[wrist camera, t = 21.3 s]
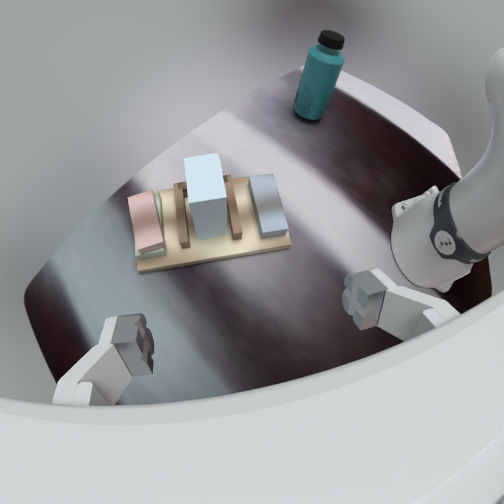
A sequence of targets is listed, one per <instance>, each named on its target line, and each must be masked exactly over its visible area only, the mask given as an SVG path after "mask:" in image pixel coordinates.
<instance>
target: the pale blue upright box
mask: <svg viewBox="0 0 504 504" xmlns="http://www.w3.org/2000/svg"><path fill="white" fill-rule="evenodd" d="M184 163H185V174H186V183H187V192H188V201H189V206H190V210H191V214H192V218H193V222H194V226H195V230H196V234H197V237H198V240H202V239H208V238H214V237H221V236H226V224H227V195H226V190H225V185H224V179H223V174H222V169H221V163H220V158H219V153H214V154H207V155H201V156H194V157H188V158H184Z"/></svg>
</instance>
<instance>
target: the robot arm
mask: <svg viewBox="0 0 504 504" xmlns="http://www.w3.org/2000/svg"><path fill="white" fill-rule="evenodd" d="M485 90H486V96H487V99H488V103H489V107H490V113H491V133H490V140H489V143H488V146H487V149H486V151H485V153H484V155H483V156H482V158H481V159H480V161H479V162H478V163H477V164H476V165H475V166H474V167H473V169H472V170H471V171H470V172H469V173H468V174H467V175H466V176H465V177H463V178H462V179H461V180H460V181H459V182H455V183H453V184H451V185H449V186H447V187H446V188H444V189H443V190H442V191H441V192H439V190H438V188H437V187H436V186H434V187H432V188H430V189H429V190H428V191H426V192H425V193H423V195H421V196H418V197H415V198H412V199H408V200H405V201H402V202H399V203H396V204H395V205H393V206H392V216H393V228H392V233H391V244H392V250H393V254H394V257H395V260H396V262H397V264H398V266H399V268H400V270H401V271H402V272H403V274H404V275H405V276H406V277H407V278H408V279H409V280H410V281H411V282H412V283H414V284H416V285H418V286H420V287H424V288H435V289H437V290H439V291H440V292H443V293H444V292H447V291H448V290H449V289H450V287H451V285H452V283H453V281H454V280H457V279H459V278H461V277H463V276H465V275H467V274H468V273H469V272H470V269H471V268H472V265H473V263H474V262H478V261H480V260H482V259H484V258H485V257H486V256H488V255H489V254H490V253H491V251H493V250H495V249H497V248H499V247H501V246H503V245H504V47H503V48H501V49H499V50H498V51H496V52H495V53H494V54H493V55H492V57H491V58H490V60H489V62H488V64H487V67H486V72H485ZM344 285H345V286H346V289H345V290H344V292H343V296H342V301H343V306H344V308H345V310H346V312H347V313H348V314H350V315H352V316H354V317H353V321H354V323H355V324H356V325H357V327H358V328H359V329H360V330H363V329H367V328H370V327H373V326H378V327H380V328H381V329H383V330H385V331H387V332H389V333H391V334H392V335H394V336H396V337H398V338H400V339H401V340H403V341H405V342H403V343H401V344H398V345H396V346H394V347H391V348H389V349H386V350H384V351H381V352H379V353H376V354H373V355H371V356H368V357H365V358H363V359H360V360H357V361H354V362H351V363H348V364H345V365H342V366H339V367H336V368H333V369H330V370H327V371H323V372H320V373H317V374H313V375H310V376H306V377H303V378H299V379H295V380H292V381H288V382H284V383H280V384H276V385H271V386H267V387H262V388H258V389H253V390H248V391H243V392H238V393H233V394H227V395H221V396H215V397H209V398H202V399H194V400H186V401H177V402H168V403H156V404H141V405H117V406H114V405H115V404H116V402H117V400H118V399H119V397H120V396H121V394H122V393H123V391H124V390H125V388H126V387H127V386H128V384H129V383H130V381H131V380H132V378H133V376H142V375H150V374H153V359H152V357H151V356H152V354H153V353H154V341H153V337H152V334H151V331H150V330H149V329H148V328H147V327H146V322H147V321H146V319H145V317H144V315H143V314H142V313H140V314H131V315H122V316H114V317H108V318H106V320H105V323H104V326H103V330H102V333H101V336H100V340H99V343H98V345H97V346H94V347H93V348H92V349H91V350H90V351H89V352H88V353H87V354H86V355H84V356H83V357H82V358H81V359H80V360H79V361H78V362H77V363H76V364H75V365H74V366H73V367H72V368H71V369H70V370H69V371H68V372H67V373H66V374H65V375H64V376H63V377H62V378H61V379H60V380H59V381H58V384H57V387H56V391H55V394H54V398H53V401H52V404H49V403H38V402H30V401H22V400H15V399H9V398H3V397H0V504H504V289H503V290H501V291H499V292H498V293H497V294H495V295H493V296H492V297H490V298H489V299H487V300H485V301H484V302H482V303H480V304H479V305H477V306H475V307H473V308H472V309H470V310H468V311H466V312H464V313H463V314H460V313H459V312H457V311H456V310H455V309H454V308H453V307H452V306H451V305H450V304H449V303H448V302H447V301H445V300H443V299H440V298H437V297H434V296H431V295H428V294H425V293H422V292H419V291H416V290H413V289H410V288H407V287H404V286H397V285H396V284H395V283H394V282H393V281H392V280H391V279H390V278H389V277H388V276H387V275H386V274H384V273H383V272H382V271H381V270H380V269H379V268H372V269H369V270H366V271H363V272H359V273H354V274H350V275H346V277H345V279H344Z"/></svg>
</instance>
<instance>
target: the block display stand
mask: <svg viewBox="0 0 504 504" xmlns="http://www.w3.org/2000/svg"><path fill="white" fill-rule="evenodd" d="M223 179H224V185H225V190H226V195H227V224H226V236H221V237H214V238H208V239H202V240H198V237H197V234H196V230H195V226H194V222H193V218H192V214H191V210H190V206H189V201H188V192H187V183H186V182H180V183H175V184H174V188H172V189H167V190H162V191H156V192H152V190H149V191H146V192H143V193H140V194H137V195H134V196H131V197H128V202H129V208H130V214H131V220H132V225H133V231H134V237H135V253H136V259H137V271H138V272H140V273H145V272H151V271H157V270H163V269H169V268H175V267H181V266H187V265H192V264H198V263H204V262H210V261H216V260H222V259H228V258H234V257H239V256H245V255H251V254H257V253H263V252H269V251H274V250H280V249H286V248H290V246H291V241H290V237H289V233H288V229H289V228H288V225H287V221H286V217H285V214H284V210H283V206H282V203H281V199H280V196H279V192H278V189H277V185H276V182H275V178H274V175H273V174H265V175H256V176H249V177H244V178H236V179H232V178H231V175H225V176H223Z"/></svg>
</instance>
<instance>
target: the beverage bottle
mask: <svg viewBox="0 0 504 504" xmlns="http://www.w3.org/2000/svg"><path fill="white" fill-rule="evenodd" d="M344 40H345V39H344V37H343V36H342V35H340V34H339V33H336V32H334V31H330V30H323V31H322V32H321V34H320V36H319V38H318V42H319V43H320V44H318V45H315V46H312V47H311V48H309V51H308V56H307V60H306V63H305V67H303V68H304V70H303V73H302V77H301V81H300V82H299V83H300V84H299V88H297V89H298V91H297V92H296V93H297V95H296V99H295V103H294V108H295V111H296V112H297V113H298V114H299V115H300V116H302V117H304V118H307V119H311V120H316V119H319V118H321V117H322V116H324V113H325V110H326V108H327V105H328V103H329V100H330V99H331V95H332V93H333V91H334V90H335V85H336V82H337V79H338V76H339V74H340V71H341V68H342V66H343V64H344V62H345V60H344V57H343V55H342V54H341V53H340V52H339V50H341V49H342V48H343V44H344Z"/></svg>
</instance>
